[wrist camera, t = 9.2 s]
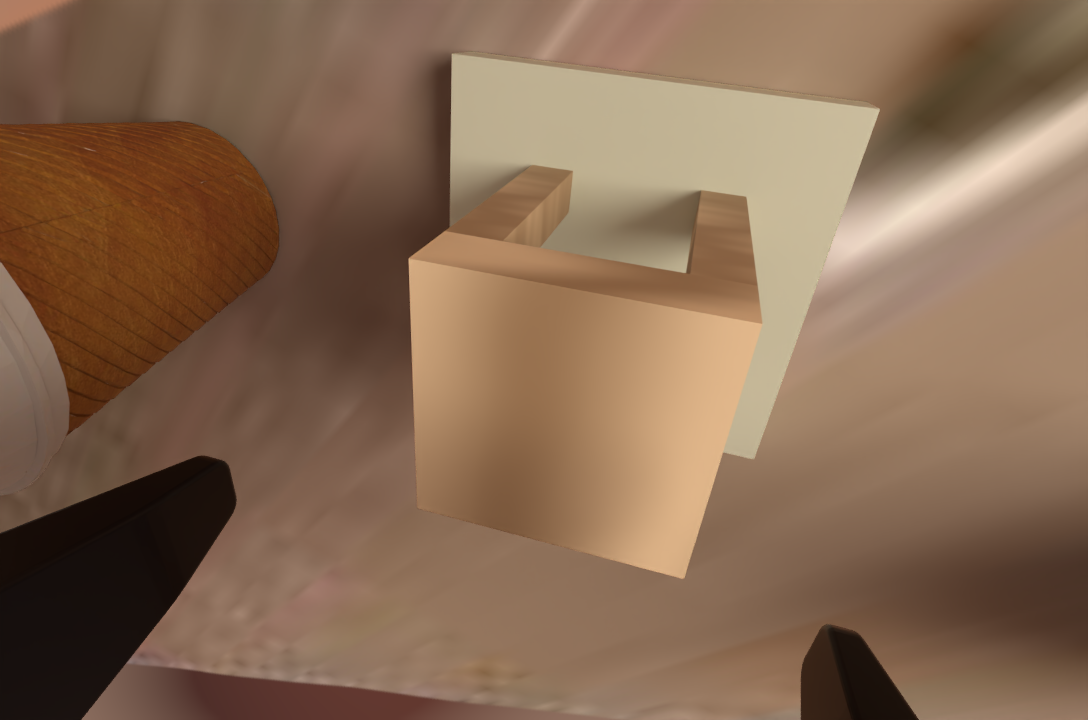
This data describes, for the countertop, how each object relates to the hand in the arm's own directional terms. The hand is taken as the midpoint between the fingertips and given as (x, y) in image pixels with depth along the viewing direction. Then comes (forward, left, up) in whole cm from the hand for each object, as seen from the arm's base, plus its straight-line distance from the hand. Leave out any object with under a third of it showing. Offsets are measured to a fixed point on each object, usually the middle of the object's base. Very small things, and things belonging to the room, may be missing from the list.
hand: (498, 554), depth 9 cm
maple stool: (0, 0, -11) cm, 11 cm away
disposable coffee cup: (+16, +1, -13) cm, 21 cm away
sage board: (0, 0, -13) cm, 13 cm away
